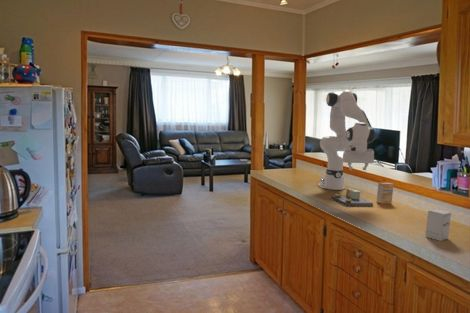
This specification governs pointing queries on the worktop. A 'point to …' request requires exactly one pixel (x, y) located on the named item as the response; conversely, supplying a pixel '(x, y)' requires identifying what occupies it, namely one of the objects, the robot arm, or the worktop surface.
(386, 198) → the supplement box
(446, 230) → the supplement box
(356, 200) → the plate
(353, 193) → the pale green rectangular block
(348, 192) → the beige block
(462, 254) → the worktop surface
